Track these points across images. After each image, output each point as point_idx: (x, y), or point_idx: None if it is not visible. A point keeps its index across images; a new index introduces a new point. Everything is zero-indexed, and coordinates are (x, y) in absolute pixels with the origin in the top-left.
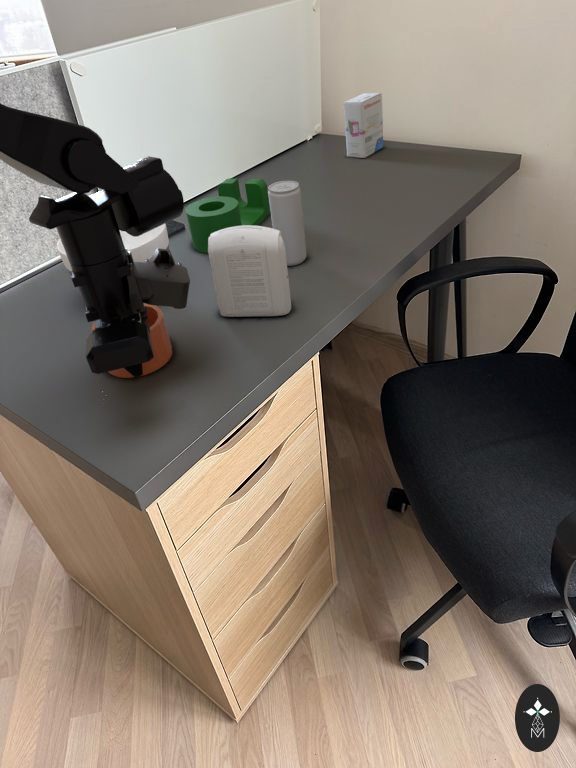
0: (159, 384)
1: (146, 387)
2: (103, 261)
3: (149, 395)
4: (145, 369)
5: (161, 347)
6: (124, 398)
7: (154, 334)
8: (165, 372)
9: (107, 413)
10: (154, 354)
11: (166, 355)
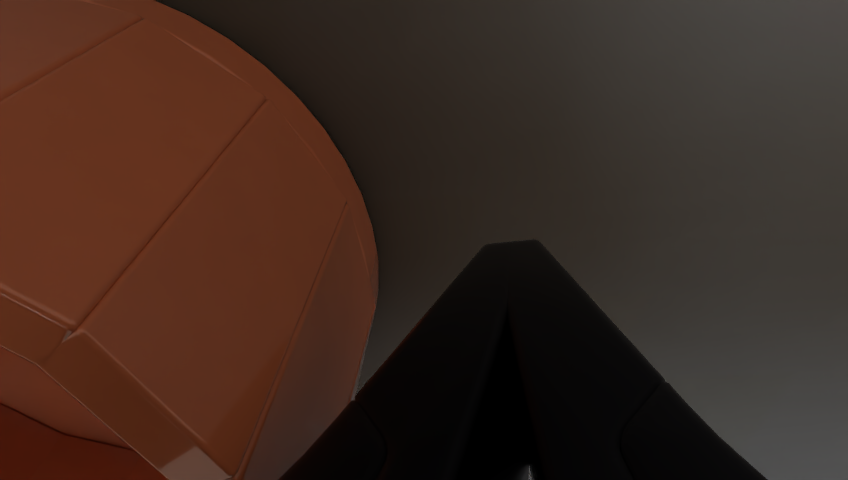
0: (528, 68)
1: (537, 174)
2: None
3: (662, 144)
4: (346, 206)
5: (130, 89)
6: (622, 314)
7: (58, 221)
8: (353, 24)
9: (750, 398)
10: (244, 156)
11: (154, 27)
